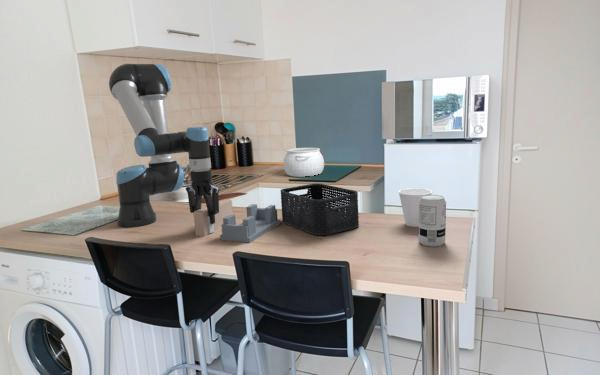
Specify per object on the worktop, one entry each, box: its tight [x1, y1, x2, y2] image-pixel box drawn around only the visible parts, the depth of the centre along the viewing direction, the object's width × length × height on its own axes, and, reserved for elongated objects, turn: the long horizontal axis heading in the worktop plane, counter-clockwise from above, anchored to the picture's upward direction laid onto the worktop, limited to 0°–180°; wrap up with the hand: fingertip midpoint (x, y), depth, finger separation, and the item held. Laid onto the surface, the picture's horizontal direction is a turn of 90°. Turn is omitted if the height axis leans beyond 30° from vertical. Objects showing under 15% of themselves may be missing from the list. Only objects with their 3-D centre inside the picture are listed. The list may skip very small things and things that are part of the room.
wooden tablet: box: [201, 192, 248, 204], centre depth 220 cm, size 27×10×2 cm, turn 133°
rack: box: [219, 203, 281, 243], centre depth 158 cm, size 12×24×8 cm, turn 157°
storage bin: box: [279, 183, 360, 236], centre depth 162 cm, size 29×19×13 cm
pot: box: [283, 147, 325, 178], centre depth 277 cm, size 29×26×16 cm
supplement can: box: [417, 194, 447, 247], centre depth 135 cm, size 8×8×15 cm
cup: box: [398, 187, 433, 228], centre depth 156 cm, size 12×12×12 cm
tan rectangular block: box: [192, 199, 234, 237], centre depth 164 cm, size 4×20×9 cm, turn 157°
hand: (206, 231), depth 159 cm, fingers closed on tan rectangular block, 4 cm apart
